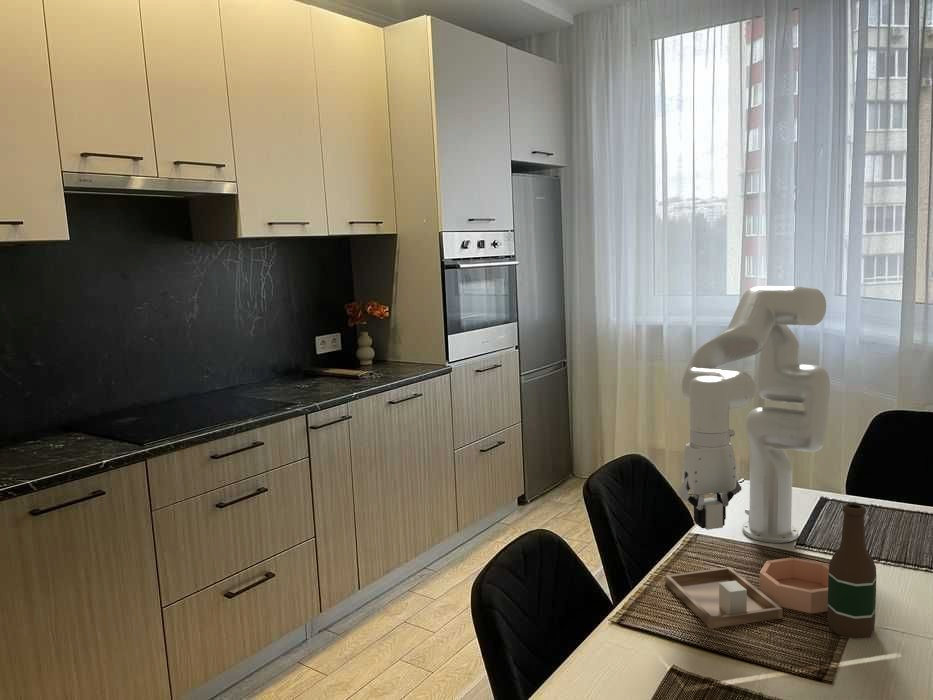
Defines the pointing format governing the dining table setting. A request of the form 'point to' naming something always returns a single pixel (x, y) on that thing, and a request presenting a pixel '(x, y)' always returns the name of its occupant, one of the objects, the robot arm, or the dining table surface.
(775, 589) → the bowl
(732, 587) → the white sharp-edged block
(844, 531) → the beer bottle
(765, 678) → the dining table surface
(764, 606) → the walnut tray
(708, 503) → the off-white matte cube
